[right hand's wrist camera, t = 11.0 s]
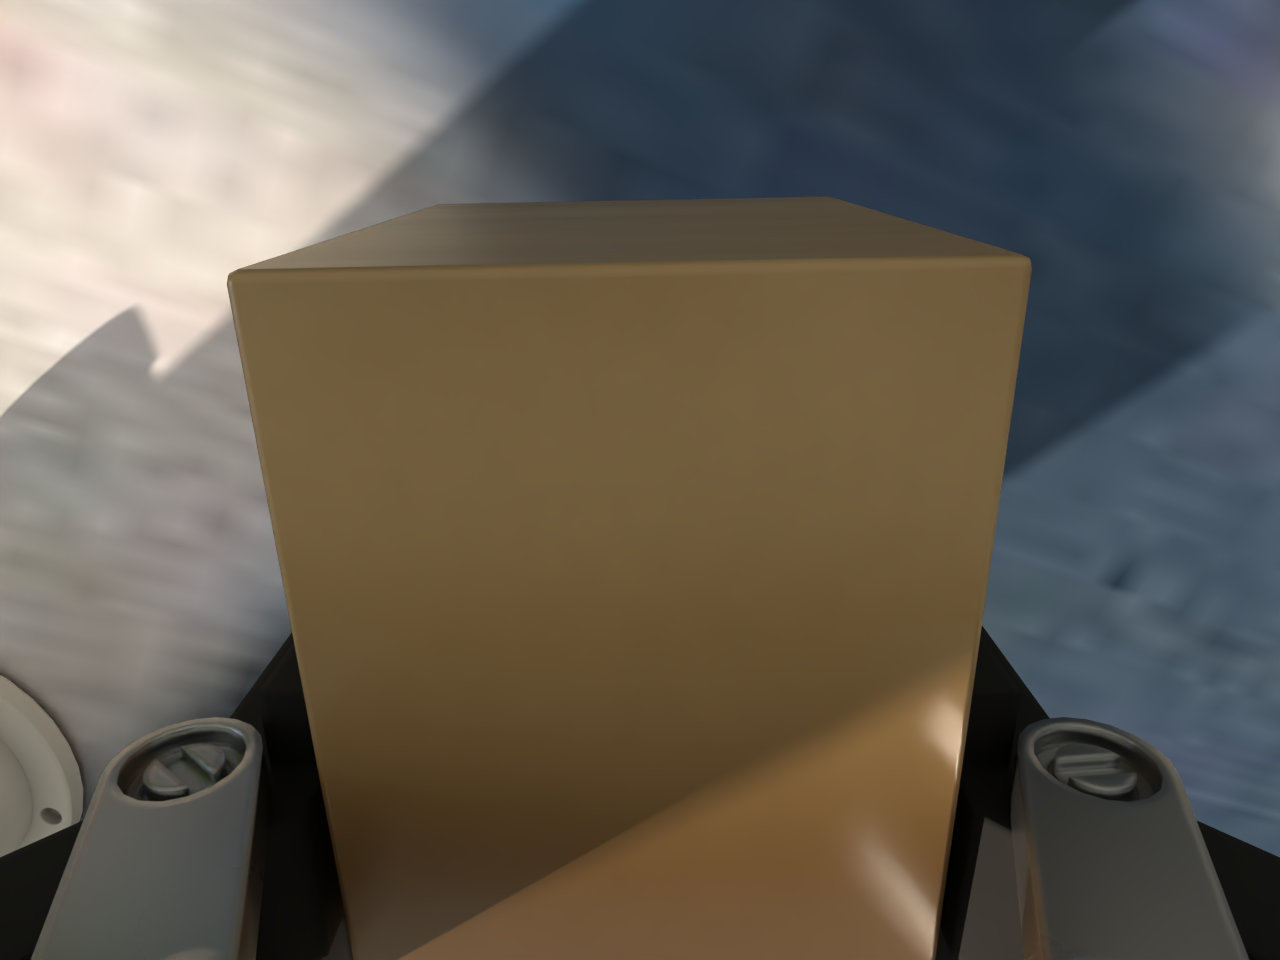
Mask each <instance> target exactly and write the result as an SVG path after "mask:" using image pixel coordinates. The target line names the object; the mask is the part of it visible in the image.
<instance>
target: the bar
mask: <svg viewBox="0 0 1280 960" xmlns="http://www.w3.org/2000/svg"><path fill="white" fill-rule="evenodd" d="M1031 272H1032V266H1031V261H1030V258H1029V257H1026V256H1024V255H1022V254H1019V253H1016V252H1012V251H1009V250H1006V249H1002V248H999V247H996V246H992V245H989V244H986V243H982V242H979V241H976V240H972V239H969V238H966V237H962V236H959V235H956V234H952V233H949V232H946V231H942V230H939V229H936V228H933V227H929V226H926V225H923V224H919V223H916V222H913V221H909V220H906V219H903V218H899V217H896V216H893V215H889V214H886V213H883V212H879V211H876V210H873V209H869V208H866V207H863V206H859V205H856V204H853V203H850V202H846V201H843V200H840V199H836V198H833V197H830V196H829V197H780V198H730V199H680V200H630V201H580V202H531V203H481V204H438V205H435V206H432V207H429V208H426V209H423V210H420V211H416V212H413V213H410V214H407V215H404V216H401V217H398V218H395V219H392V220H389V221H386V222H382V223H379V224H376V225H373V226H370V227H367V228H364V229H361V230H358V231H355V232H352V233H349V234H345V235H342V236H339V237H336V238H333V239H330V240H327V241H324V242H321V243H318V244H315V245H311V246H308V247H305V248H302V249H299V250H296V251H293V252H290V253H287V254H284V255H281V256H278V257H274V258H271V259H268V260H265V261H262V262H259V263H256V264H253V265H250V266H247V267H244V268H240V269H238V270H236V271H233V272H231V273H229V275H228V281H227V287H228V293H229V298H230V303H231V309H232V314H233V319H234V325H235V330H236V335H237V341H238V346H239V351H240V357H241V362H242V367H243V373H244V378H245V383H246V389H247V394H248V399H249V405H250V410H251V415H252V421H253V426H254V431H255V437H256V442H257V447H258V453H259V458H260V463H261V469H262V474H263V479H264V485H265V490H266V495H267V501H268V506H269V511H270V517H271V522H272V527H273V533H274V538H275V543H276V549H277V554H278V559H279V565H280V570H281V575H282V581H283V586H284V591H285V597H286V602H287V607H288V613H289V618H290V623H291V629H292V634H293V639H294V645H295V650H296V655H297V661H298V666H299V671H300V677H301V682H302V687H303V693H304V698H305V703H306V709H307V714H308V719H309V725H310V730H311V735H312V741H313V746H314V751H315V757H316V762H317V768H318V773H319V778H320V784H321V789H322V794H323V800H324V805H325V810H326V816H327V821H328V826H329V832H330V837H331V842H332V848H333V853H334V858H335V864H336V869H337V874H338V880H339V885H340V890H341V896H342V901H343V906H344V912H345V917H346V922H347V928H348V933H349V938H350V944H351V949H352V954H353V960H935V957H936V950H937V943H938V935H939V928H940V921H941V914H942V907H943V900H944V893H945V885H946V878H947V871H948V864H949V857H950V850H951V843H952V835H953V828H954V821H955V814H956V807H957V800H958V793H959V785H960V778H961V771H962V764H963V757H964V750H965V743H966V736H967V728H968V721H969V714H970V707H971V700H972V693H973V686H974V678H975V671H976V664H977V657H978V650H979V643H980V636H981V628H982V621H983V614H984V607H985V600H986V593H987V586H988V578H989V571H990V564H991V557H992V550H993V543H994V536H995V529H996V521H997V514H998V507H999V500H1000V493H1001V486H1002V479H1003V471H1004V464H1005V457H1006V450H1007V443H1008V436H1009V429H1010V421H1011V414H1012V407H1013V400H1014V393H1015V386H1016V379H1017V372H1018V364H1019V357H1020V350H1021V343H1022V336H1023V329H1024V322H1025V314H1026V307H1027V300H1028V293H1029V286H1030V279H1031Z"/></svg>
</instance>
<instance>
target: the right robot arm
mask: <svg viewBox="0 0 1280 960" xmlns="http://www.w3.org/2000/svg"><path fill="white" fill-rule="evenodd" d="M82 812H83V785H82V780H81V775H80V771H79V766H78V764H77V762H76V759H75V757H74V755H73V752H72V750H71V748H70V746H69V743H68V742H67V740H66V739H65V737H64V736H63V734H62V733H61V731H60V730H59V728H58V727H57V725H56V724H55V722H54V721H53V720H52V719H51V718H50V716H49V715H48V714H47V713H46V712H45V711H44V710H43V709H42V708H41V707H40V706H39V705H38V704H37V703H36V702H35V701H34V699H32V698H31V697H30V696H29V695H27V694H26V693H25V692H24V691H22V690H21V689H20V688H19V687H17V686H16V685H15V684H13V683H12V682H11V681H10V680H8V679H6V678H5V677H3V676H1V675H0V960H353V954H352V949H351V944H350V938H349V933H348V928H347V922H346V917H345V912H344V906H343V901H342V896H341V890H340V885H339V880H338V874H337V869H336V864H335V858H334V853H333V848H332V842H331V837H330V832H329V826H328V821H327V816H326V810H325V805H324V800H323V794H322V789H321V784H320V778H319V773H318V768H317V762H316V757H315V751H314V746H313V741H312V735H311V730H310V725H309V719H308V714H307V709H306V703H305V698H304V693H303V687H302V682H301V677H300V671H299V666H298V661H297V655H296V650H295V645H294V639H293V634H292V633H291V634H290V636H289V637H288V639H287V640H286V641H285V643H284V644H283V645H282V647H281V648H280V650H279V651H278V652H277V654H276V655H275V656H274V658H273V659H272V661H271V662H270V663H269V665H268V666H267V667H266V669H265V670H264V672H263V673H262V674H261V676H260V677H259V678H258V680H257V681H256V683H255V684H254V685H253V687H252V688H251V689H250V691H249V692H248V694H247V695H246V696H245V698H244V699H243V700H242V702H241V703H240V705H239V706H238V707H237V709H236V710H235V711H234V713H233V714H232V716H231V717H230V718H220V717H213V718H202V719H193V720H189V721H185V722H181V723H177V724H173V725H169V726H167V727H164V728H162V729H159V730H157V731H154V732H152V733H149V734H147V735H145V736H144V737H142V738H140V739H138V740H137V741H135V742H133V743H132V744H130V745H128V746H127V747H125V748H124V749H123V750H122V751H121V752H120V753H119V754H117V755H116V756H115V757H114V758H113V759H112V760H111V761H110V762H109V763H108V765H107V766H106V768H105V770H104V771H103V773H102V774H101V776H100V778H99V781H98V783H97V786H96V789H95V791H94V794H93V796H92V799H91V802H90V804H89V807H88V810H87V812H86V815H85V818H84V820H83V821H80V818H81V815H82ZM935 960H1280V857H1277V856H1275V855H1273V854H1271V853H1268V852H1266V851H1264V850H1262V849H1259V848H1257V847H1255V846H1253V845H1250V844H1248V843H1246V842H1244V841H1241V840H1239V839H1237V838H1235V837H1232V836H1230V835H1228V834H1226V833H1223V832H1221V831H1219V830H1217V829H1214V828H1212V827H1210V826H1208V825H1205V824H1203V823H1201V822H1199V821H1197V820H1196V818H1195V815H1194V812H1193V810H1192V807H1191V804H1190V802H1189V799H1188V796H1187V794H1186V791H1185V789H1184V786H1183V783H1182V781H1181V778H1180V776H1179V774H1178V773H1177V771H1176V770H1175V768H1174V766H1173V765H1172V763H1171V762H1170V761H1169V760H1168V759H1167V758H1166V757H1165V756H1164V755H1163V754H1161V753H1160V752H1159V751H1158V750H1157V749H1156V748H1155V747H1153V746H1152V745H1150V744H1148V743H1147V742H1145V741H1143V740H1142V739H1140V738H1138V737H1136V736H1135V735H1133V734H1131V733H1128V732H1126V731H1123V730H1121V729H1118V728H1116V727H1113V726H1111V725H1107V724H1103V723H1099V722H1095V721H1091V720H1087V719H1078V718H1067V717H1060V718H1049V717H1048V716H1047V714H1046V713H1045V711H1044V710H1043V709H1042V707H1041V706H1040V705H1039V703H1038V702H1037V700H1036V699H1035V698H1034V696H1033V695H1032V694H1031V692H1030V691H1029V689H1028V688H1027V687H1026V685H1025V684H1024V683H1023V681H1022V680H1021V678H1020V677H1019V676H1018V674H1017V673H1016V672H1015V670H1014V669H1013V667H1012V666H1011V665H1010V663H1009V662H1008V661H1007V659H1006V658H1005V656H1004V655H1003V654H1002V652H1001V651H1000V650H999V648H998V647H997V645H996V644H995V643H994V641H993V640H992V639H991V637H990V636H989V634H988V633H987V632H986V630H985V629H984V628H983V626H982V628H981V636H980V643H979V650H978V657H977V664H976V671H975V678H974V686H973V693H972V700H971V707H970V714H969V721H968V728H967V736H966V743H965V750H964V757H963V764H962V771H961V778H960V785H959V793H958V800H957V807H956V814H955V821H954V828H953V835H952V843H951V850H950V857H949V864H948V871H947V878H946V885H945V893H944V900H943V907H942V914H941V921H940V928H939V935H938V943H937V950H936V957H935Z"/></svg>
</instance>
